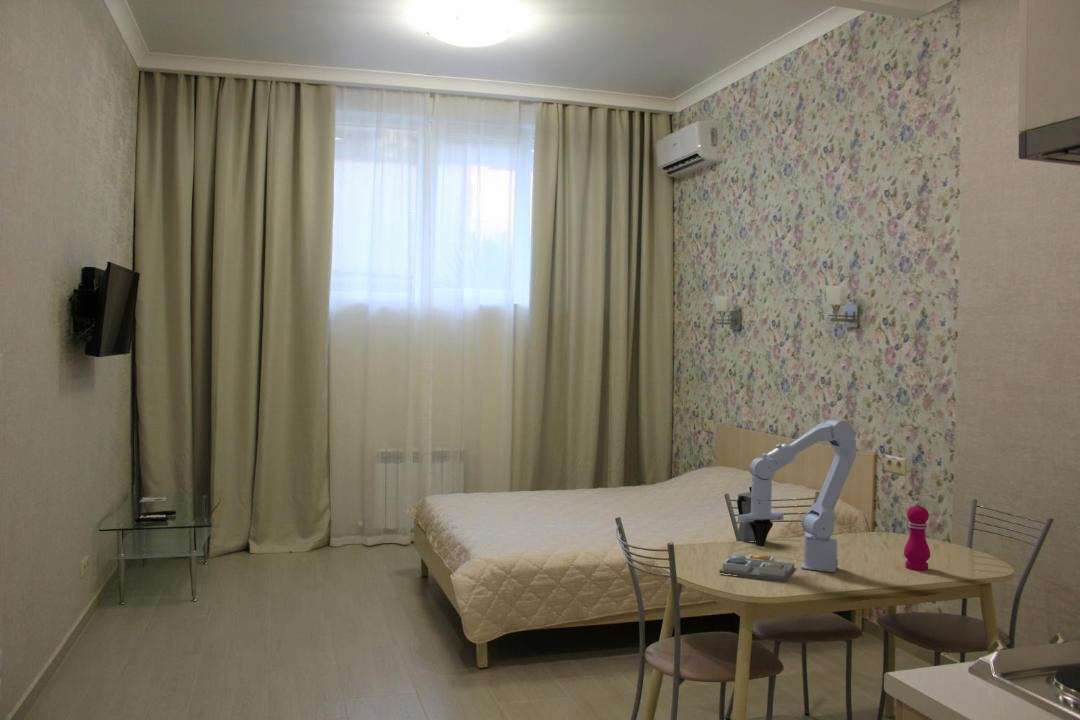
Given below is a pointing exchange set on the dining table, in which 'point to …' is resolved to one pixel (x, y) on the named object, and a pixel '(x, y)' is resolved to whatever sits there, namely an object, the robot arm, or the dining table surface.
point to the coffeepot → (745, 508)
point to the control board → (758, 569)
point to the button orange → (760, 556)
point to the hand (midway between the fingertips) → (760, 545)
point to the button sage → (773, 565)
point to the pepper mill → (917, 539)
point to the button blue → (737, 559)
